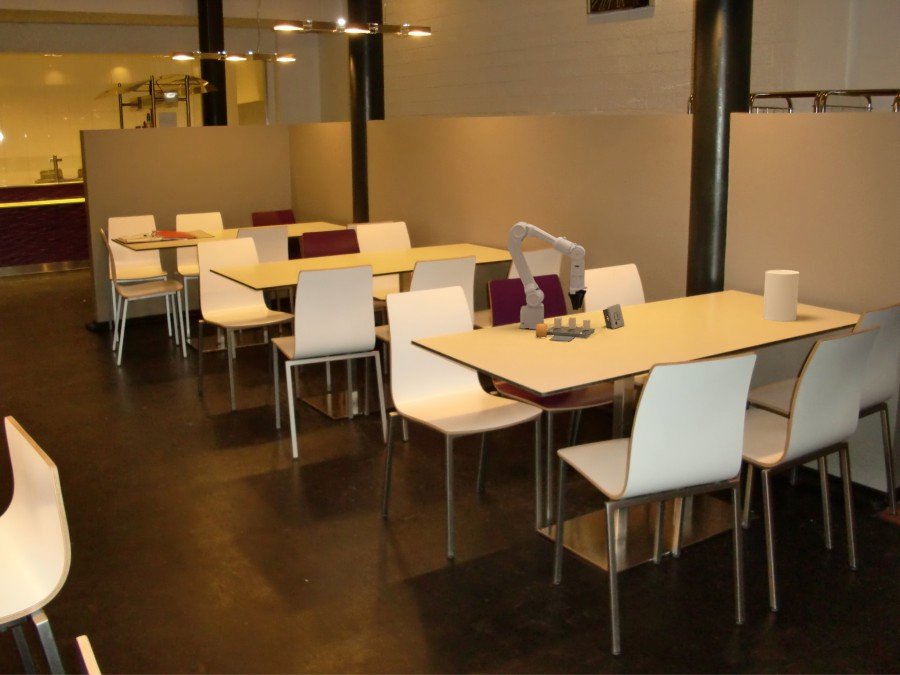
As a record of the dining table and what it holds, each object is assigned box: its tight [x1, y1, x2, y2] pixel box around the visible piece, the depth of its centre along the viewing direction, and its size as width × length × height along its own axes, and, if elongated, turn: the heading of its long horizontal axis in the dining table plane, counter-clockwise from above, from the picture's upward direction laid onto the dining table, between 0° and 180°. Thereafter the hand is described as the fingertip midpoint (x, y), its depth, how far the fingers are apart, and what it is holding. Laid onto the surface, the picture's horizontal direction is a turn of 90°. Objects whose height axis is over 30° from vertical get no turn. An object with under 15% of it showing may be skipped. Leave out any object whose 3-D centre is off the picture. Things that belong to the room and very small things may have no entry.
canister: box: [762, 269, 800, 323], centre depth 388 cm, size 14×14×20 cm
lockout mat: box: [548, 335, 576, 343], centre depth 357 cm, size 8×8×1 cm
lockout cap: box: [536, 323, 548, 338], centre depth 362 cm, size 4×4×5 cm
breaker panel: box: [547, 325, 596, 339], centre depth 366 cm, size 17×12×2 cm
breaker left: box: [553, 316, 563, 328], centre depth 371 cm, size 2×2×4 cm
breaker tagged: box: [567, 316, 577, 329], centre depth 369 cm, size 2×2×4 cm
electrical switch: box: [602, 303, 625, 330], centre depth 378 cm, size 9×5×9 cm, turn 141°
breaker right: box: [582, 318, 591, 330], centre depth 366 cm, size 2×2×4 cm
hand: (577, 308), depth 374 cm, fingers open, 4 cm apart
